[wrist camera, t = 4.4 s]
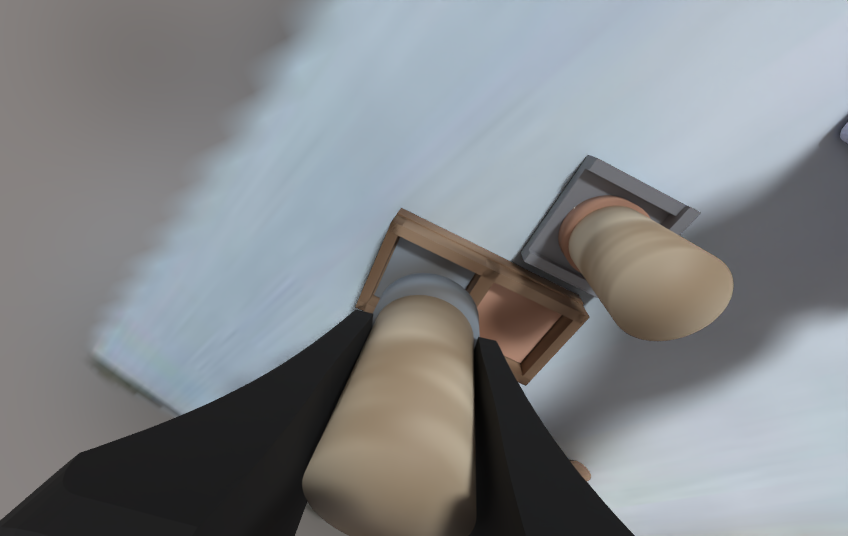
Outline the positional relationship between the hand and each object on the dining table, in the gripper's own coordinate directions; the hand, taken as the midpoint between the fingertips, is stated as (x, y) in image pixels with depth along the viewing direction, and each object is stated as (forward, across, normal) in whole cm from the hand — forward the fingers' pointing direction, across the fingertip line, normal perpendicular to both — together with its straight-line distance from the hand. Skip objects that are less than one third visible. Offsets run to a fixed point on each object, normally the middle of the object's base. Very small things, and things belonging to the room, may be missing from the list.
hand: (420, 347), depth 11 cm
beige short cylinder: (+8, -8, -3) cm, 12 cm away
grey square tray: (+9, -8, -3) cm, 12 cm away
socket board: (+9, -2, +3) cm, 10 cm away
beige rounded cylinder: (+2, 0, 0) cm, 2 cm away
